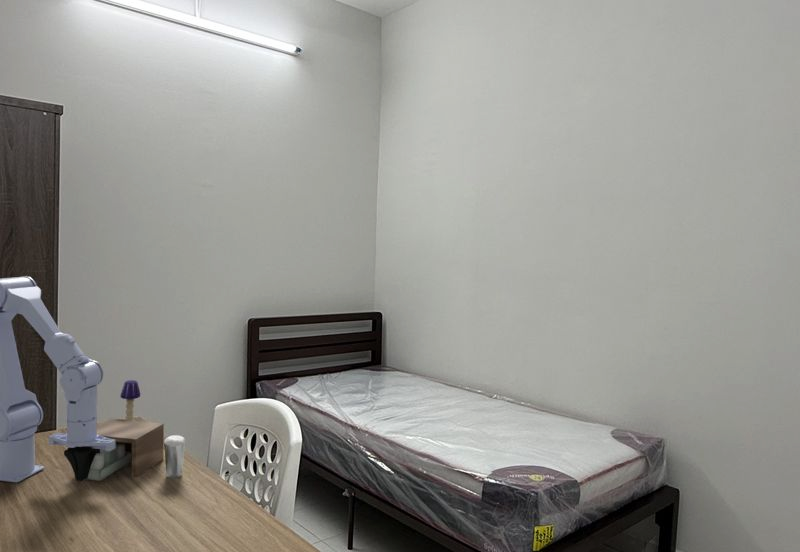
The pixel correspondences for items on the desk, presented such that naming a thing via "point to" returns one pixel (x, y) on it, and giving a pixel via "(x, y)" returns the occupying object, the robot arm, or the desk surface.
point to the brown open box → (136, 441)
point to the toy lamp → (130, 396)
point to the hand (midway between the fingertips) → (82, 479)
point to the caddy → (109, 462)
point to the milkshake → (174, 455)
